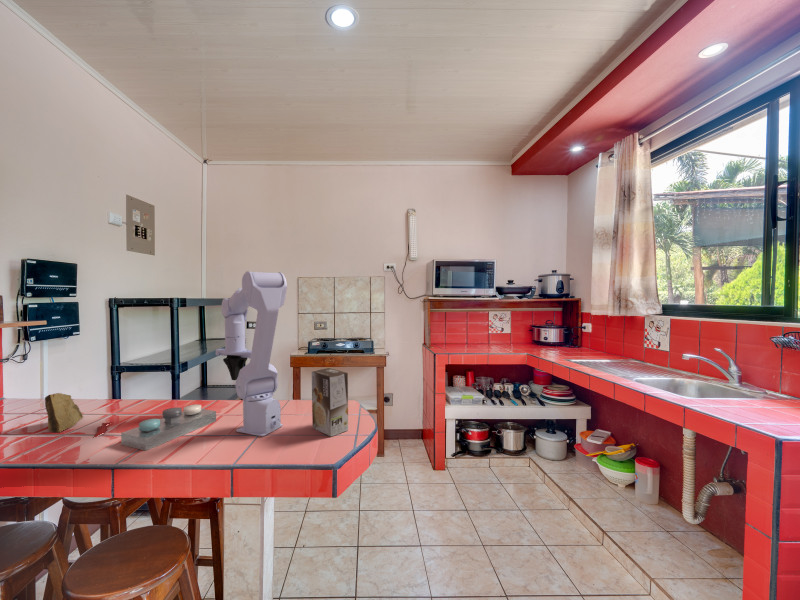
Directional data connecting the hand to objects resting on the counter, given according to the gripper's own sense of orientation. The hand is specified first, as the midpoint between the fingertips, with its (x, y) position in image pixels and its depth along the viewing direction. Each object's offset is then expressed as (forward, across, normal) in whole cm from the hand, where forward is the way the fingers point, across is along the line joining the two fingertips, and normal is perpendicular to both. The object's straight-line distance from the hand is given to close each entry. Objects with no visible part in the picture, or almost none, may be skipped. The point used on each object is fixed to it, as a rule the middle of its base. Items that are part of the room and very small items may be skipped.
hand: (235, 379), depth 110 cm
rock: (+11, +37, +25) cm, 46 cm away
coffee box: (+11, -35, +1) cm, 37 cm away
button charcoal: (+8, +4, +18) cm, 20 cm away
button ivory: (+9, +4, +12) cm, 16 cm away
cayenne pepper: (+11, +24, +24) cm, 35 cm away
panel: (+10, +4, +18) cm, 21 cm away
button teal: (+9, +4, +24) cm, 26 cm away
